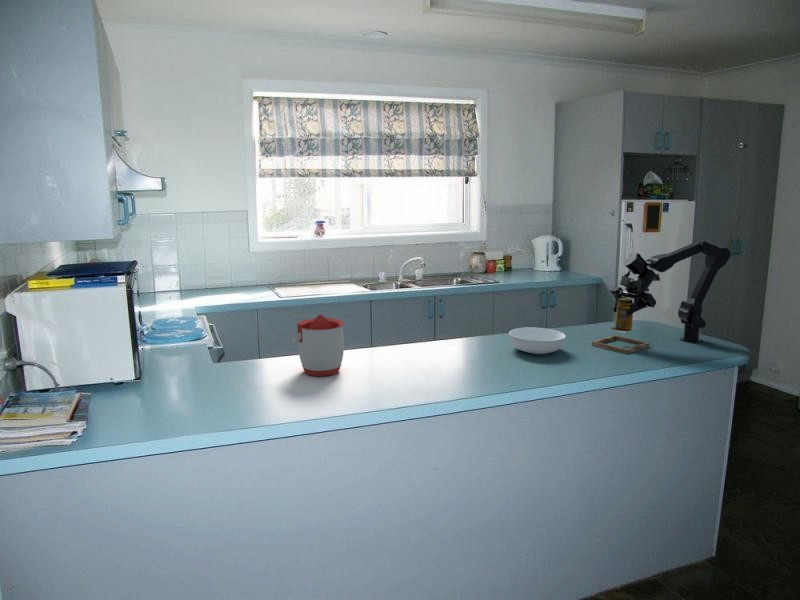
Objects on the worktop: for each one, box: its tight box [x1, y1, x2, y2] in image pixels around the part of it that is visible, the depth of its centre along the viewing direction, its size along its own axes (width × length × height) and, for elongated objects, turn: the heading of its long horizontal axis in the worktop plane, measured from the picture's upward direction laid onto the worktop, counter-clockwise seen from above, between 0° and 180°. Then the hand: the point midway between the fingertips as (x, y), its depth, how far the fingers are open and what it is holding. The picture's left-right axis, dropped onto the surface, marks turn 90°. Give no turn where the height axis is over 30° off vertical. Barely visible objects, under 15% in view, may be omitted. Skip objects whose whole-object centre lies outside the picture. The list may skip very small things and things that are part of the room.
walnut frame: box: [591, 334, 650, 355], centre depth 238 cm, size 16×15×2 cm
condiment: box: [608, 297, 636, 334], centre depth 236 cm, size 7×8×12 cm
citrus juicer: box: [292, 313, 345, 377], centre depth 205 cm, size 16×17×20 cm
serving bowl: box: [508, 326, 567, 355], centre depth 231 cm, size 21×21×7 cm
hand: (620, 313), depth 235 cm, fingers closed on condiment, 6 cm apart
